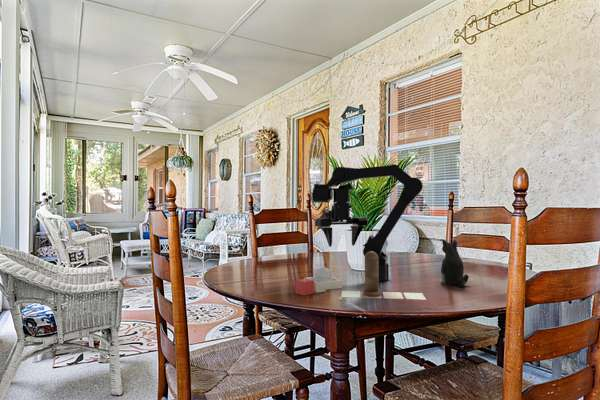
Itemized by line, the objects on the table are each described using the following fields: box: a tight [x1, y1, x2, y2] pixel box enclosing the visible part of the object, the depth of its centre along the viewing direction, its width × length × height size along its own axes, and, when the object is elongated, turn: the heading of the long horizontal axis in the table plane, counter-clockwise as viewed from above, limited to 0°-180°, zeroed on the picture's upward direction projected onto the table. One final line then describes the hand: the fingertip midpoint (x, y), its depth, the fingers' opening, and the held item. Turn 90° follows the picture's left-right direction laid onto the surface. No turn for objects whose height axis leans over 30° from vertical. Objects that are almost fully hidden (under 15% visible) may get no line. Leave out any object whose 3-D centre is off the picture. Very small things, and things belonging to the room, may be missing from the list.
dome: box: [313, 266, 334, 282], centre depth 123 cm, size 6×6×6 cm
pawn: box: [362, 251, 382, 297], centre depth 111 cm, size 5×5×13 cm
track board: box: [339, 290, 427, 301], centre depth 110 cm, size 24×10×1 cm, turn 81°
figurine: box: [438, 239, 470, 288], centre depth 126 cm, size 10×10×15 cm
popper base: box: [305, 276, 343, 294], centre depth 123 cm, size 9×9×3 cm
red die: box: [294, 277, 315, 297], centre depth 116 cm, size 4×4×4 cm
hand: (341, 246), depth 136 cm, fingers open, 9 cm apart
